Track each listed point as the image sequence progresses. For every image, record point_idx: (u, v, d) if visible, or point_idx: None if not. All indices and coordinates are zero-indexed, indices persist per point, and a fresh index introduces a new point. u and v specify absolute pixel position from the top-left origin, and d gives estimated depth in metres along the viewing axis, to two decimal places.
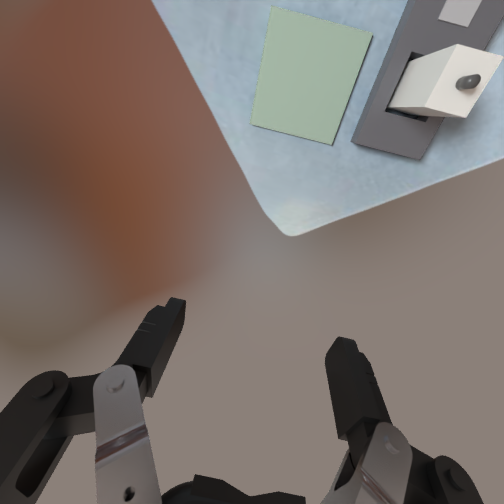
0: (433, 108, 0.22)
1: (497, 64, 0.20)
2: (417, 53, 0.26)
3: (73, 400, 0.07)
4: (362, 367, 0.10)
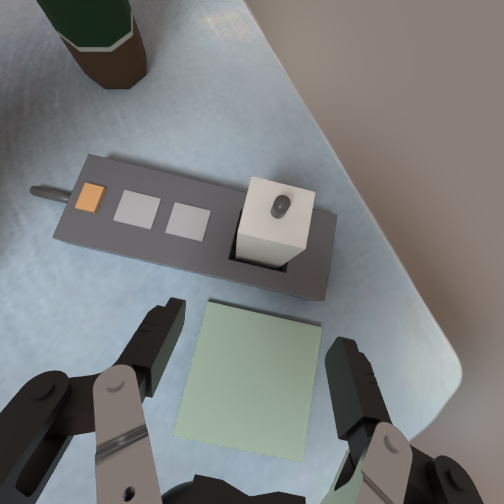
0: (306, 235, 0.15)
1: (259, 179, 0.16)
2: (230, 251, 0.23)
3: (73, 400, 0.07)
4: (362, 367, 0.10)
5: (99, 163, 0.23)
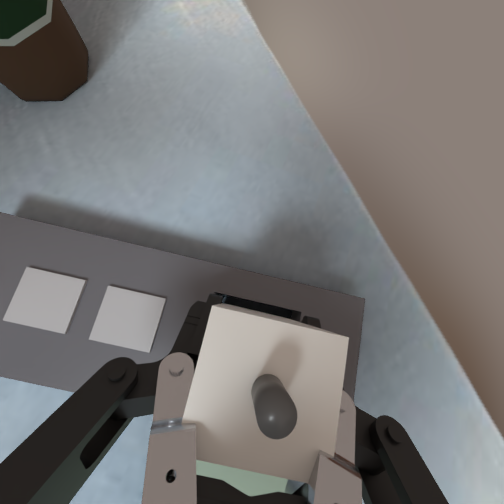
0: (331, 449, 0.07)
1: (228, 313, 0.07)
2: None
3: (136, 390, 0.08)
4: None
5: None
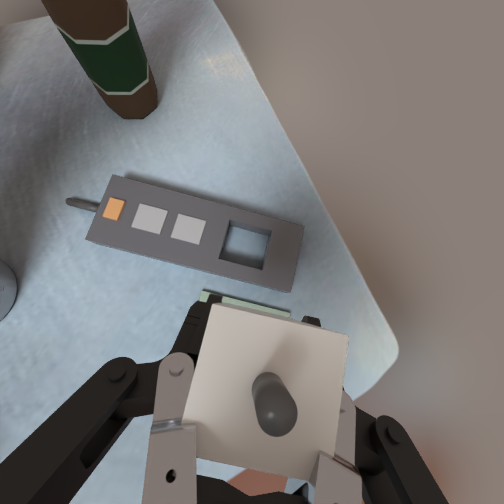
0: (331, 447, 0.07)
1: (229, 311, 0.07)
2: (220, 253, 0.29)
3: (136, 390, 0.08)
4: None
5: (120, 182, 0.30)
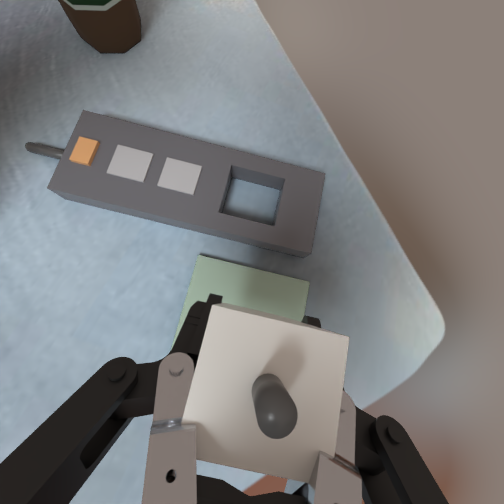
0: (332, 449, 0.07)
1: (229, 312, 0.07)
2: (220, 205, 0.23)
3: (136, 390, 0.08)
4: None
5: (93, 119, 0.24)
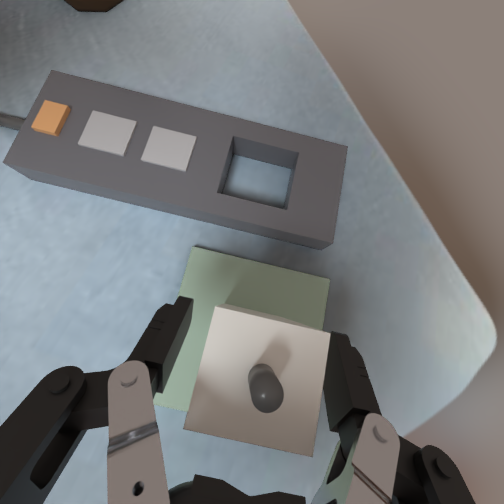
0: (314, 426, 0.08)
1: (229, 312, 0.09)
2: (219, 185, 0.19)
3: (87, 396, 0.07)
4: (353, 361, 0.10)
5: (64, 81, 0.19)
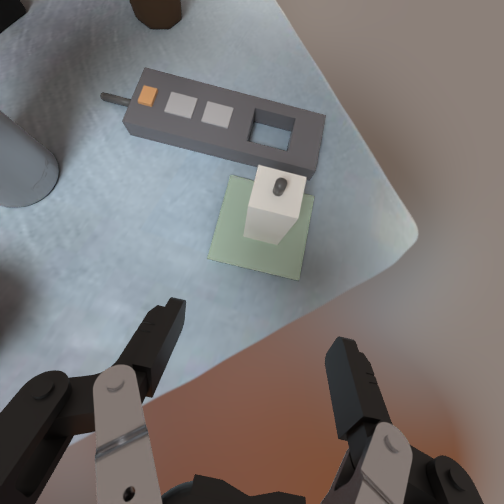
0: (299, 209, 0.21)
1: (264, 167, 0.21)
2: (247, 136, 0.31)
3: (73, 400, 0.07)
4: (362, 367, 0.10)
5: (152, 74, 0.32)
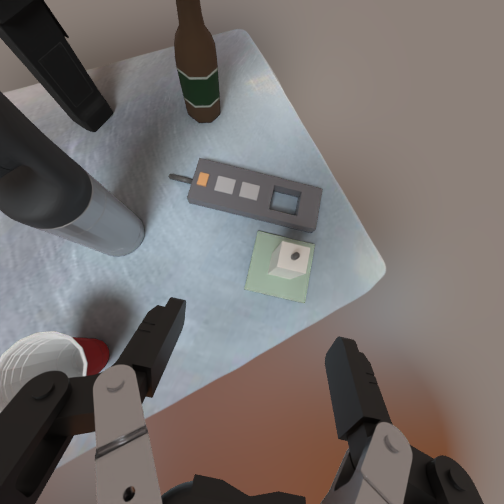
0: (306, 267, 0.36)
1: (285, 242, 0.36)
2: (269, 205, 0.46)
3: (73, 400, 0.07)
4: (362, 367, 0.10)
5: (205, 162, 0.47)
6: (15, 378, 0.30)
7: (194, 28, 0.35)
